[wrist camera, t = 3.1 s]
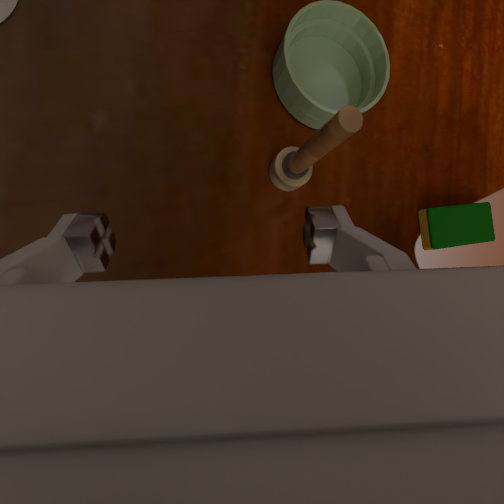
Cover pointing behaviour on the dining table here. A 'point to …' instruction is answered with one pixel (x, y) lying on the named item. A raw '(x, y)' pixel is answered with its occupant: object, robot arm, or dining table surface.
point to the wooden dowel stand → (313, 149)
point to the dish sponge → (456, 225)
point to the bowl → (329, 63)
